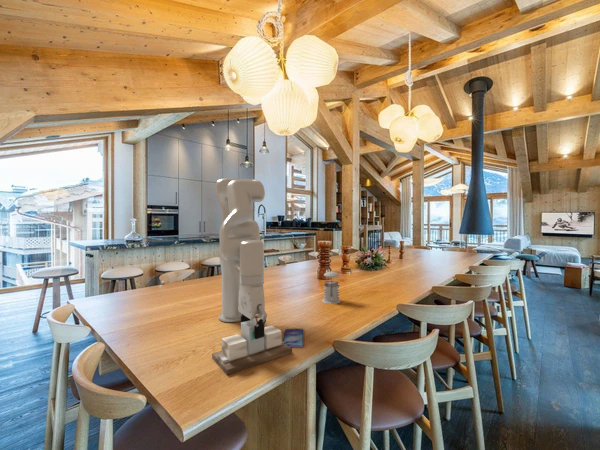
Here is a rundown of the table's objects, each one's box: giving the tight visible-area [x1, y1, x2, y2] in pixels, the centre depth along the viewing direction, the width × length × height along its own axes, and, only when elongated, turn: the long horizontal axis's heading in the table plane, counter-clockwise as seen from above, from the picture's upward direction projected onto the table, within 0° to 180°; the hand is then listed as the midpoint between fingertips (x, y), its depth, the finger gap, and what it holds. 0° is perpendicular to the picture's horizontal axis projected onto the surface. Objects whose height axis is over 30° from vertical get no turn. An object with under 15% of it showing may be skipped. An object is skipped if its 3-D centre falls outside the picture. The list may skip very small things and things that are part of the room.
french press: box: [321, 252, 341, 305], centre depth 151 cm, size 10×12×25 cm
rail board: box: [211, 324, 293, 376], centre depth 94 cm, size 12×22×7 cm, turn 126°
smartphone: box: [282, 328, 305, 349], centre depth 107 cm, size 7×1×15 cm
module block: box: [240, 319, 264, 354], centre depth 93 cm, size 6×5×8 cm
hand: (252, 332), depth 94 cm, fingers open, 9 cm apart
